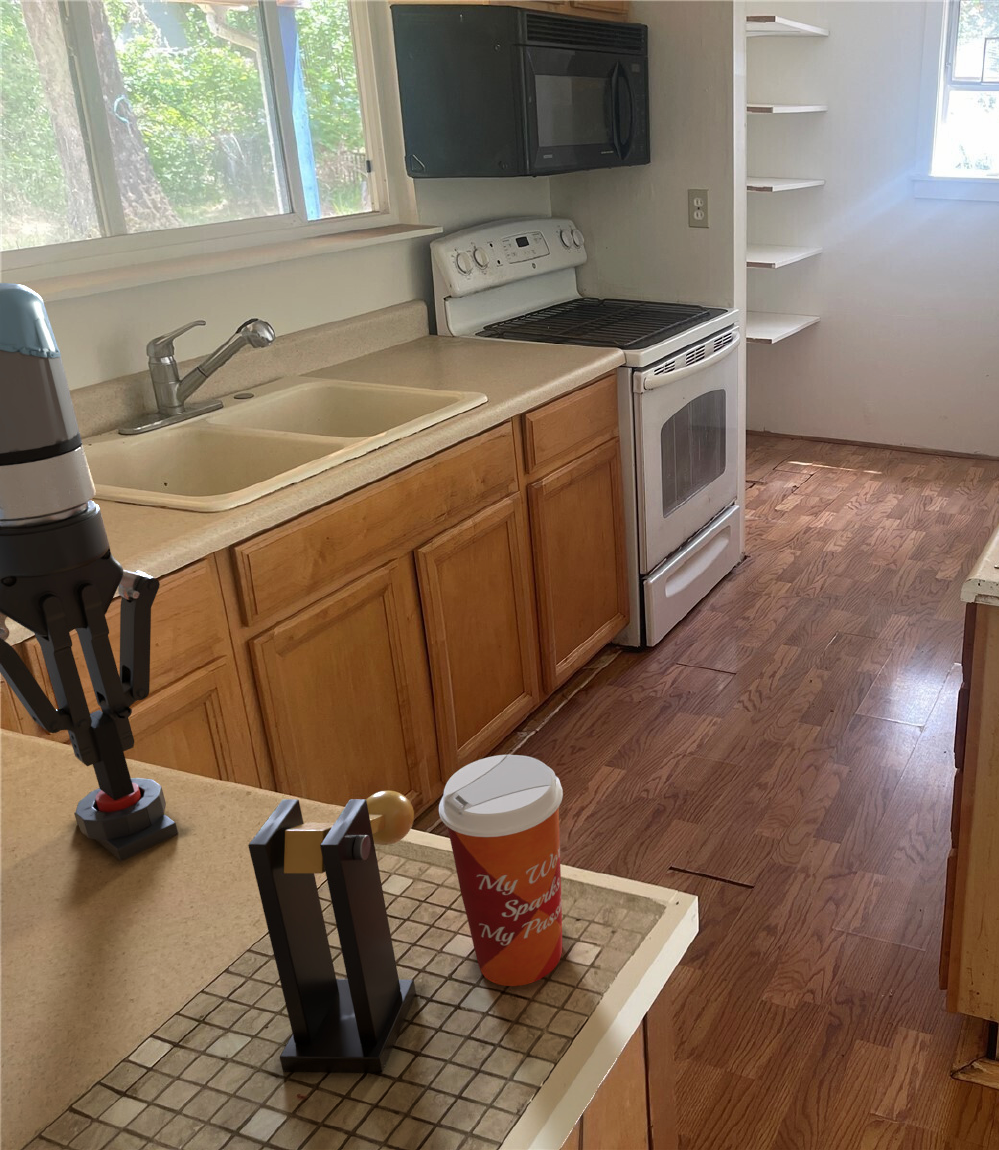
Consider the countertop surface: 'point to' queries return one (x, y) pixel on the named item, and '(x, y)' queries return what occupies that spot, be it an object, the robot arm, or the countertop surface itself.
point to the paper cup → (508, 863)
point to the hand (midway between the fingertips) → (117, 790)
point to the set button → (109, 804)
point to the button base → (128, 821)
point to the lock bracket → (301, 949)
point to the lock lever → (303, 841)
